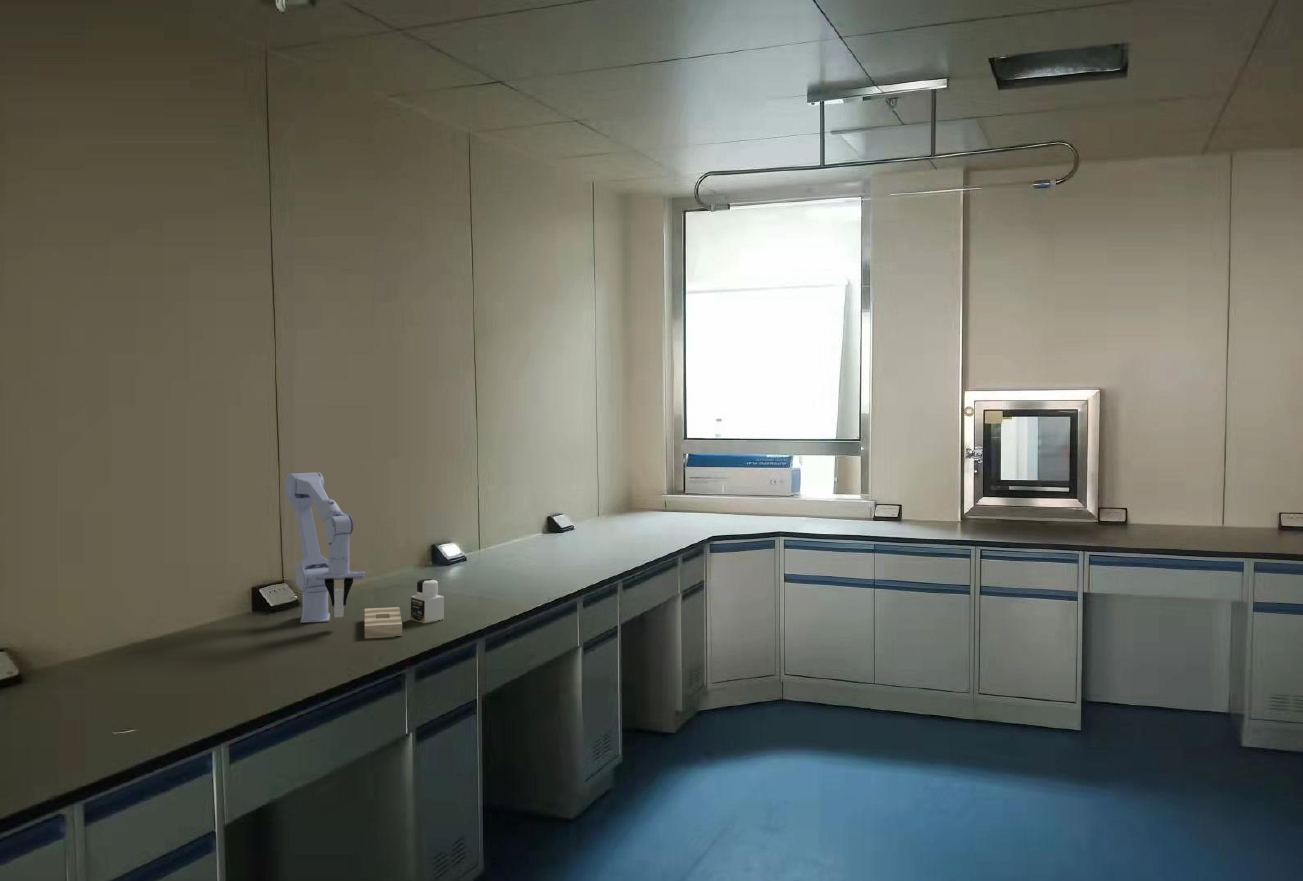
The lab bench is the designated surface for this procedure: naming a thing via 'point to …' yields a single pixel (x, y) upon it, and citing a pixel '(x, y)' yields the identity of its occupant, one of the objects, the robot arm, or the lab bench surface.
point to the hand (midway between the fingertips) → (338, 604)
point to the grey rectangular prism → (338, 602)
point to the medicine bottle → (427, 602)
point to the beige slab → (383, 622)
